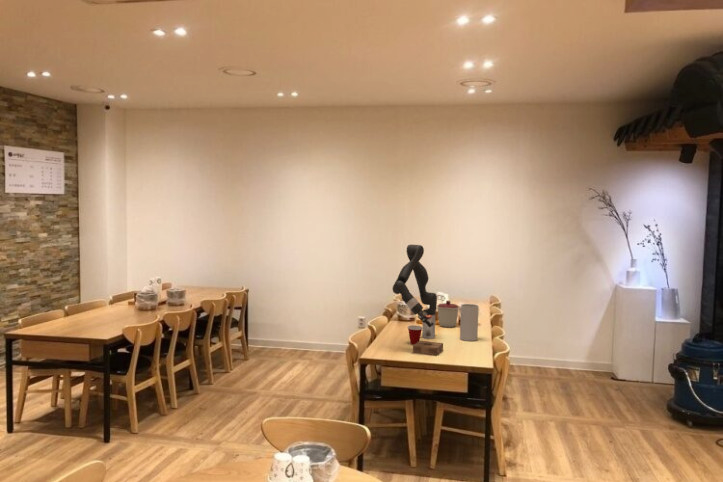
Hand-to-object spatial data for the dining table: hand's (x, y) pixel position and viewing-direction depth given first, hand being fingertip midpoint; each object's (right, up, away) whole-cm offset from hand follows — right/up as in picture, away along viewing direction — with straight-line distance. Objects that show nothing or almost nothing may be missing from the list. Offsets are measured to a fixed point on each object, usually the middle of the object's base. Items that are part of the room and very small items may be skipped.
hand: (431, 325), depth 377 cm
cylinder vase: (+32, -16, +41) cm, 55 cm away
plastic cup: (-9, -16, +24) cm, 30 cm away
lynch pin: (-2, -6, +1) cm, 7 cm away
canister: (+24, -14, +88) cm, 93 cm away
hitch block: (-2, -17, +2) cm, 18 cm away
